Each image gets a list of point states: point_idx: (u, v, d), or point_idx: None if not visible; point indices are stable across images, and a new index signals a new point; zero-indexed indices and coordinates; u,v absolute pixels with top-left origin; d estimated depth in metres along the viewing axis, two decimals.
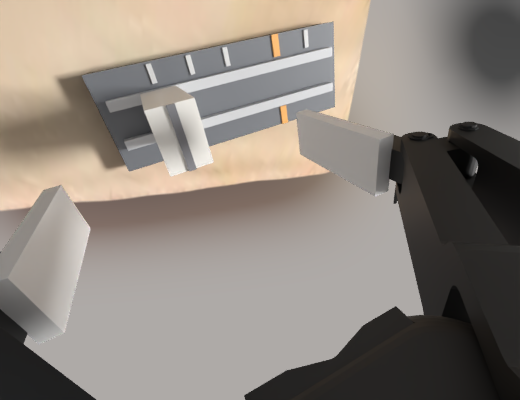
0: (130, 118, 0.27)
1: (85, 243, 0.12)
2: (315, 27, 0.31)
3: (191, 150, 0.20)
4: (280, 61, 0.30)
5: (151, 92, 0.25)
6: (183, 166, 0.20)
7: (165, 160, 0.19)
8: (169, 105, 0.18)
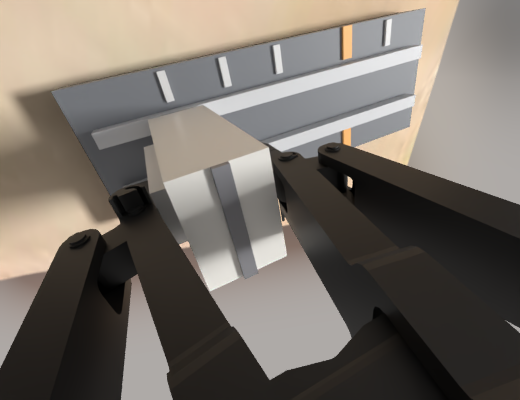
0: (132, 155, 0.17)
1: None
2: (401, 16, 0.21)
3: (252, 243, 0.10)
4: (353, 65, 0.20)
5: (166, 118, 0.15)
6: (233, 271, 0.10)
7: (202, 267, 0.10)
8: (218, 168, 0.08)
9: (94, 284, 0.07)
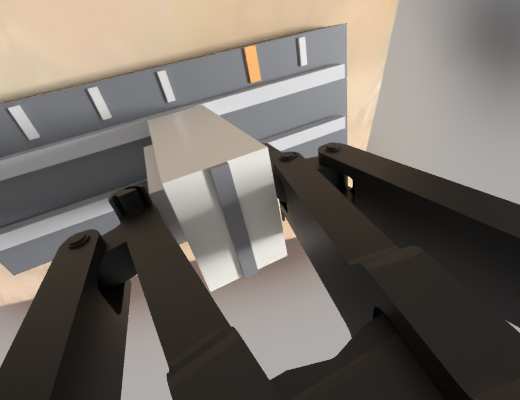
0: None
1: None
2: (317, 33, 0.19)
3: (252, 243, 0.10)
4: (261, 90, 0.18)
5: (165, 118, 0.15)
6: (234, 271, 0.10)
7: (202, 267, 0.10)
8: (217, 168, 0.08)
9: (94, 285, 0.07)
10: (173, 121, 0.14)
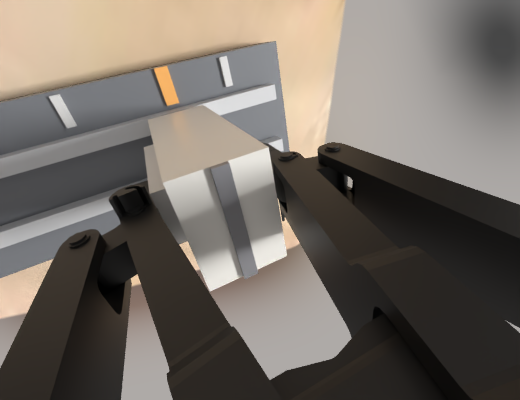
0: None
1: None
2: (242, 52, 0.17)
3: (252, 243, 0.10)
4: None
5: (166, 118, 0.15)
6: (233, 271, 0.10)
7: (202, 267, 0.10)
8: (218, 168, 0.08)
9: (94, 285, 0.07)
10: (174, 121, 0.14)
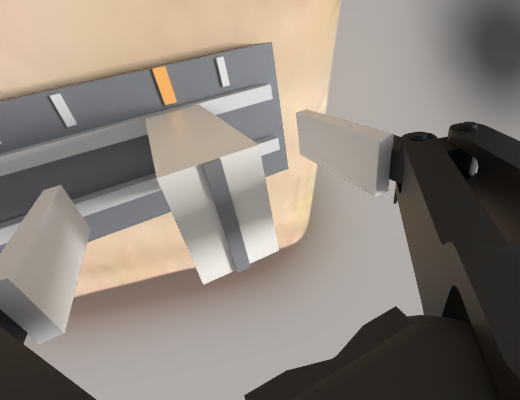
0: None
1: (85, 243, 0.12)
2: (239, 52, 0.18)
3: (244, 237, 0.10)
4: None
5: (163, 117, 0.16)
6: (226, 265, 0.11)
7: (196, 260, 0.10)
8: (210, 164, 0.08)
9: None
10: (170, 120, 0.15)
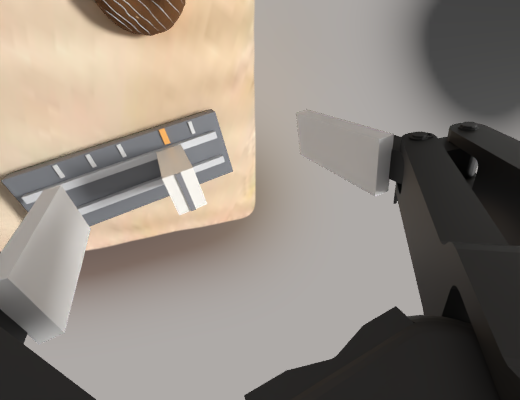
0: None
1: (85, 243, 0.12)
2: (198, 118, 0.38)
3: (192, 198, 0.30)
4: None
5: (164, 152, 0.36)
6: (187, 208, 0.31)
7: (175, 205, 0.30)
8: (177, 174, 0.28)
9: None
10: (167, 154, 0.35)
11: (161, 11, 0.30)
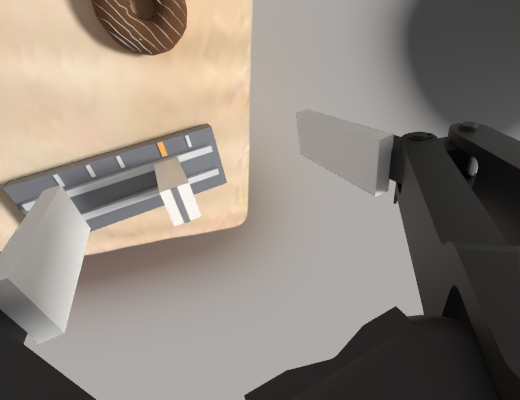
0: None
1: (85, 243, 0.12)
2: (195, 132, 0.40)
3: (187, 210, 0.32)
4: None
5: (161, 164, 0.37)
6: (182, 220, 0.33)
7: (171, 217, 0.32)
8: (174, 188, 0.30)
9: None
10: (164, 166, 0.36)
11: (163, 34, 0.32)
